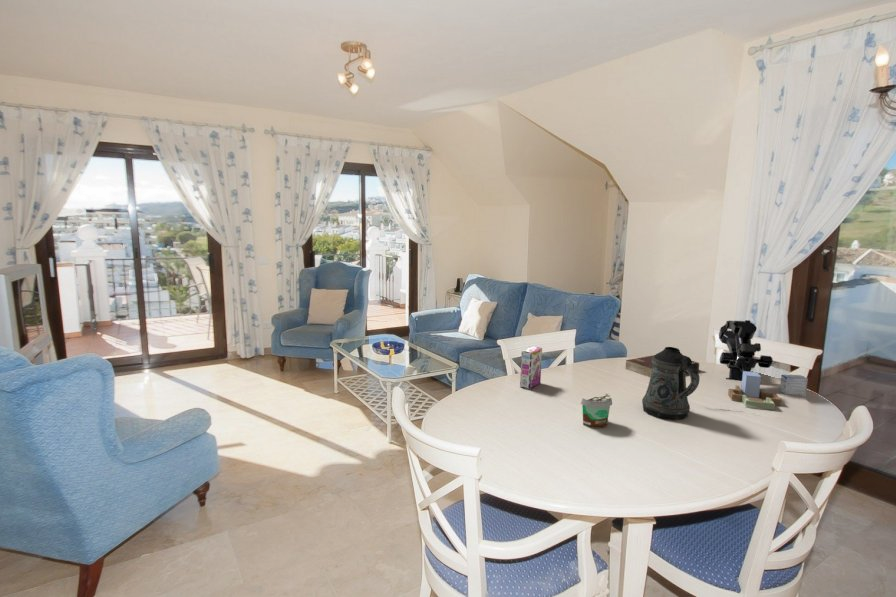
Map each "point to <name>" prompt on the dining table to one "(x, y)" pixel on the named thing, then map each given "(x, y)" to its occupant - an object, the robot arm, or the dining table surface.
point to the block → (751, 384)
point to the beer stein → (670, 385)
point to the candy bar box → (531, 367)
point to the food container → (596, 411)
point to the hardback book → (646, 365)
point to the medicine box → (793, 384)
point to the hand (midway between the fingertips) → (747, 377)
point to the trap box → (755, 399)
